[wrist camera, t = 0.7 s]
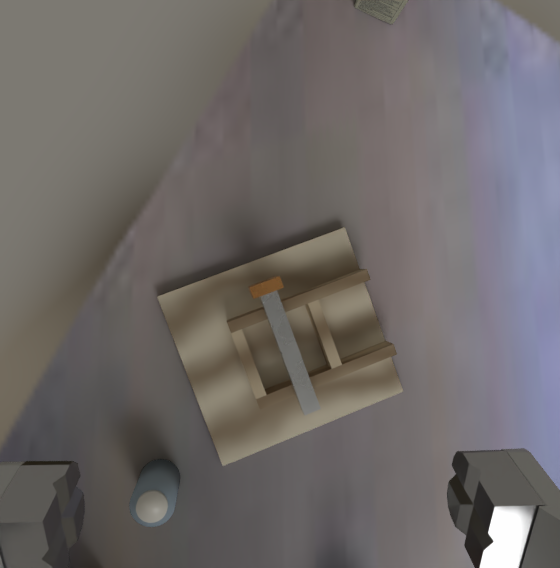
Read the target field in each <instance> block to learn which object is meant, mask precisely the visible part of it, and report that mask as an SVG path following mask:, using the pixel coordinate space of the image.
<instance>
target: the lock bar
mask: <svg viewBox="0 0 560 568" xmlns="http://www.w3.org/2000/svg"><path fill="white" fill-rule="evenodd" d="M281 288H284V286H283V284H282V281H281V278H280V276H275V277H272V278H269V279H267V280H264V281H261V282H259V283H256V284H253V285H251V286H248V289H249V291H250V294H251V297H252V298H253V299H255V298H258V297H259V298H260V301H261V304H262V306H263V309H264V312H265V314H266V317H267V320H268V322H269V325H270V328H271V330H272V333H273V336H274V338H275V341H276V344H277V346H278V349H279V352H280V355H281V357H282V360H283V363H284V365H285V368H286V371H287V373H288V376H289V379H290V381H291V384H292V387H293V389H294V392H295V395H296V397H297V400H298V403H299V405H300V408H301V410H302V412H303V414H304V415H307V414H310V413H312V412H315V411H317V410H319V409H321V408H320V405H319V402H318V400H317V397H316V394H315V392H314V389H313V386H312V383H311V381H310V378H309V375H308V373H307V370H306V367H305V365H304V362H303V359H302V356H301V354H300V351H299V348H298V346H297V343H296V340H295V338H294V335H293V332H292V329H291V327H290V324H289V321H288V319H287V316H286V313H285V311H284V308H283V305H282V302H281V300H280V297H279V294H278V292H277V290H279V289H281Z"/></svg>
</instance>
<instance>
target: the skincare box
mask: <svg viewBox="0 0 560 568" xmlns="http://www.w3.org/2000/svg"><path fill="white" fill-rule="evenodd" d="M407 2H408V0H356V2H355V4H354V7H355V8H357V9H359V10H361V11H363V12H365V13H367V14H370V15H372V16H374V17H376V18H378V19H380V20H383V21H385V22H387V23H390V24H393V23H394V22H395V20H396V19H397V17H398V15H399V14H400V12H401V11H402V9H403V8H404V6H405V5H406V3H407Z"/></svg>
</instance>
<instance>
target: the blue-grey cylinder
mask: <svg viewBox="0 0 560 568" xmlns="http://www.w3.org/2000/svg"><path fill="white" fill-rule="evenodd" d="M179 483H180V473H179V470H178V468H177V467H176V466H175V465H174V464H173V463H172V462H170V461H168V460H164V459H158V460H154V461H151V462H150V463H148V464H147V465H146V466H145V467H144V468H143V470H142V471H141V474H140V476H139V479H138V481H137V484H136V487H135V489H134V492H133V494H132V497H131V499H130V505H129V506H130V512H131V515H132V517H133V518H134V519H135V521H137V522H138V523H139V524H141V525H143V526H147V527H155V526H159V525H162V524H163V523H165V522H166V521H168V520H169V518H170V517H171V516H172V514H173V512H174V509H175V504H176V499H177V494H178V489H179Z"/></svg>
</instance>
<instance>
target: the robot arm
mask: <svg viewBox="0 0 560 568" xmlns="http://www.w3.org/2000/svg"><path fill="white" fill-rule="evenodd" d="M452 467H453V469H454V471H455V473H456V475H455V476H454V477H453V478H452V479H451V480H450V481H449V483H448V490H447V500H448V508H449V512H450V515H451V518H452V520H453V522H454V525H455V527H456V528H457V529H459V530H460V531H461V532H463V533H464V534H465V535H466V540H465V544H464V546H465V548H466V550H467V552H468V554H469V556H470V559H471V561H472V563H473V565H474V567H475V568H560V490H559V489H558V487H557V486H556V485H555V484H554V482H553V481H552V480H551V479H550V477H549V476H548V475H547V473H546V472H545V471H544V470H543V468H542V467H541V466H540V464H539V463H538V462H537V461H536V459H535V458H534V457H533V455H532V454H531V453H530V452H529V451H528V450H526V449H524V448H521V449H502V450H479V451H457V452H456V454H455V455H454V458H453V462H452ZM79 478H80V472H79V467H78V463H76V462H74V461H26V462H1V463H0V568H67V567H68V564H69V562H70V558H69V553H68V549H69V548H70V547H71V546H72V545H73V544H74V543H75V542H77V541H78V538H79V535H80V532H81V529H82V525H83V519H84V514H85V501H84V494H83V492H82V491H81V490H80V489H79V488H78V487H77V486H76V485H77V483H78V480H79Z"/></svg>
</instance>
